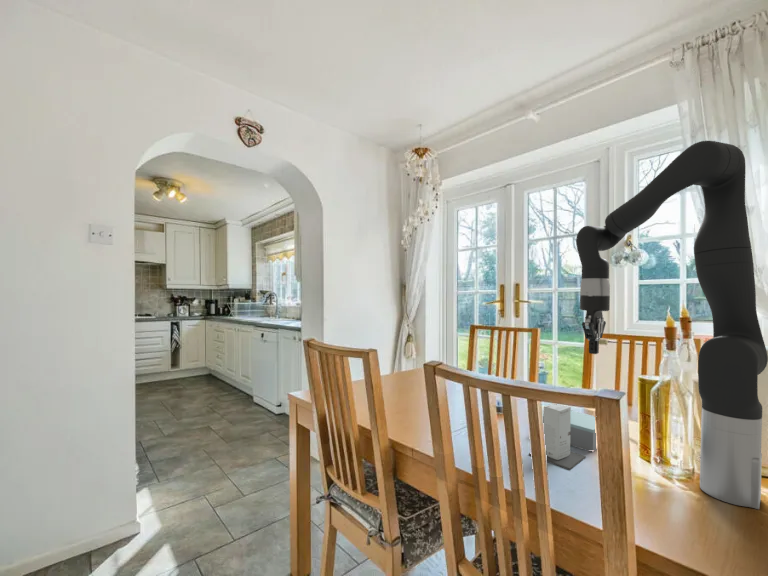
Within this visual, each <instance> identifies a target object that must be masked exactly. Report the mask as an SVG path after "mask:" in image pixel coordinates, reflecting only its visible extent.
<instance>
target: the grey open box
mask: <svg viewBox="0 0 768 576" xmlns="http://www.w3.org/2000/svg"><path fill="white" fill-rule="evenodd" d="M571 446H572V447H575V448H579V449H582V450H584V449H586V450H585V451H587V450H595V451H597V449H596V433H595V432H594V433H591V432H588V431H584V430H581V429H577V428H574V427H570V447H571Z"/></svg>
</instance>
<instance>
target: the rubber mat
mask: <svg viewBox="0 0 768 576" xmlns="http://www.w3.org/2000/svg"><path fill="white" fill-rule="evenodd" d="M528 456H530V457H532V456H531V454H530V452H529V453H528ZM586 458H587V457H586V455H583V454H580V453H577V452H575V451H571V450H570V455H569V456H567V457H565V458H562V459H560V460H556V459H553V458H551V457H548V456H547V463H550V464H552V465H555V466H558V467H560V468H564V469H566V470H569V471H571V470H572V469H573V468H574V467H576V466H577V465H578V464H580V463H581V462H582V461H583V459H584V460H585V459H586Z"/></svg>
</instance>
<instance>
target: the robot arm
mask: <svg viewBox="0 0 768 576" xmlns="http://www.w3.org/2000/svg"><path fill="white" fill-rule="evenodd" d="M693 185H694V186H698V187H699V186H700V187H701V190H702V195H703V204H704V215H703V219H702V222H701V224H700V227H699V229H698V232H697V234H696V235H695V240H694V244H693V256H694V257H693V258H694V264H695V266H694V267H695V271H696V276H697V280H698V283H699V285H700V288H701V290H702V293H703V295H704V297H705V298H706V299H705V300H706V301H707V303H708V306H709V308H710V312H711V317H712V327H713V330H712V331H713V337H712V338H710V339H708V340H706V341H705V342H704V343H703V344H702V345H701V347H700V349H699V353H698V359H697V360H698V361H697V375H698V377H697V378H698V379H697V380H698V385H697V386H698V393H699V396H700V400H701V423H700V455H699V456H700V459H699V462H700V463H699V464H700V465H699V488H700V490H702V491H703V492H704V493H705V494H707V495H709V496H710V497H712V498H715V499H717V500H719V501H722V502H725V503H728V504H731V505H736V506H740V507H741V506H742V507H746V508H748V507H749V508H753V509H755V510H760V508H761V498H762V466H763V465H762V463H763V462H762V461H763V459H762V458H763V454H762V453H763V452H762V440H763V439H762V435H763V433H762V432H763V430H762V429H763V428H762V427H763V405H762V403H761V402H760V400H759V395H758V394H759V393H758V385H759V383H758V375H759V376H760V374H762V373H763V372H764V371H765V370H766V367H767V365H768V351H767V348H766V344H765V340H764V337H763V333H762V330H761V326H760V321H759V318H758V314H757V301H756V300H757V297H756V294H757V293H756V279H755V266H754V265H755V264H754V256H753V250H752V249H753V248H752V244H751V243H752V242H751V237H750V231H749V223H748V221H749V220H748V214H747V206H746V158H745V154H744V152H743V151H742V150H741V149H740V148H739V147H737V145H735V144H734V145H733V144H730V143H726V142H719V141H716V140H701V141H698V142H695V143H693V144H692V145H690V146H688V147H687V148H685V149H684V150H683V151H682V152H681V153H680V154H678V156H677V157H676V158H674V160H672V161H671V162H670V163H669V164H668V165H667V166H666V167H665V168H664V169H663V170H662V171H661V172H660V173H659V174H657V176H656V177H654V178H653V179H652V180H651V181H649V183H648V184H647V185H646V186H645V187H644V188H642V189H641V190H640V191H639V192H638V193H637V194H635V195H634V196H633V197H632V198H629V199H628V200H627V201H626V202H624V203H623V204H622V205H620V206H619V207H618V208H616V209H614V210H613V211H612V212H611V213H609V214H608V215H607V216H606V218H605V219H604V224H605V225H604V226H595V225H585V226H583V227H581V228H580V229H579V231H578V232H577V234H576V239H575V245H576V248H577V253H578V256H579V260H580V264H581V280H580V281H581V282H580V291H579V292H580V293H579V296H580V297H579V298H580V299H579V309H580V310H581V311H586V312H585V317H584V321H582V322H581V327H582V330H583V334H584V337H585V339H587V341H588V353H589V354H590V355H591V354H592V355H597V354H599V352H600V350H599V349H600V347H599V346H600V341H601V339H602V338H603V335H604V333H605V332H604V330H605V328H606V321H605V318H604V317H603V316H604V314H603V312H608V311H609V310H610V301H611V299H610V298H611V296H610V295H611V291H610V290H611V288H610V287H611V285H610V262H609V261H608V260H607V259H605V258H604V257H602V256H601V255H600V252H604V251H609V250H611V249H612V248H614V247H615V246H616V245H617V244H618V243H619V242H621V240H622V239H623V238H624V237H625V236H626V235H627V234H628V233H631V232H632V231H633V230H635V229H637V228H638V227H640V226H641V225H643V224H644V223H646V222H648V220H649V219H651V218H653V216H654V215H655V213H656V212H657V211H658V210H659V208H660V207H661V206H662V205H663V204H664V203H665V202H666V201H667V200H668V199H669V198H670V197H672V196H674V195H676V194H677V193H679V192H682V191H683V190H684V189H687V188H689V187H691V186H693ZM609 312H610V311H609Z"/></svg>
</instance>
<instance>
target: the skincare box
mask: <svg viewBox="0 0 768 576" xmlns="http://www.w3.org/2000/svg"><path fill="white" fill-rule="evenodd" d="M557 404H558V403H557ZM557 404H555V403H551V404H548V405H544V406H543V423H544V434H545V445H546V455H547V456H548V457H551V458H553V459H556V460H560V459H562V458H565V457H567V456H569V455H570V451H571V445H570V426H571V425H570V424H571V410H572V409H571V406H568V405H565V404H561V405H557ZM564 405H565V406H564Z"/></svg>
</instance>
